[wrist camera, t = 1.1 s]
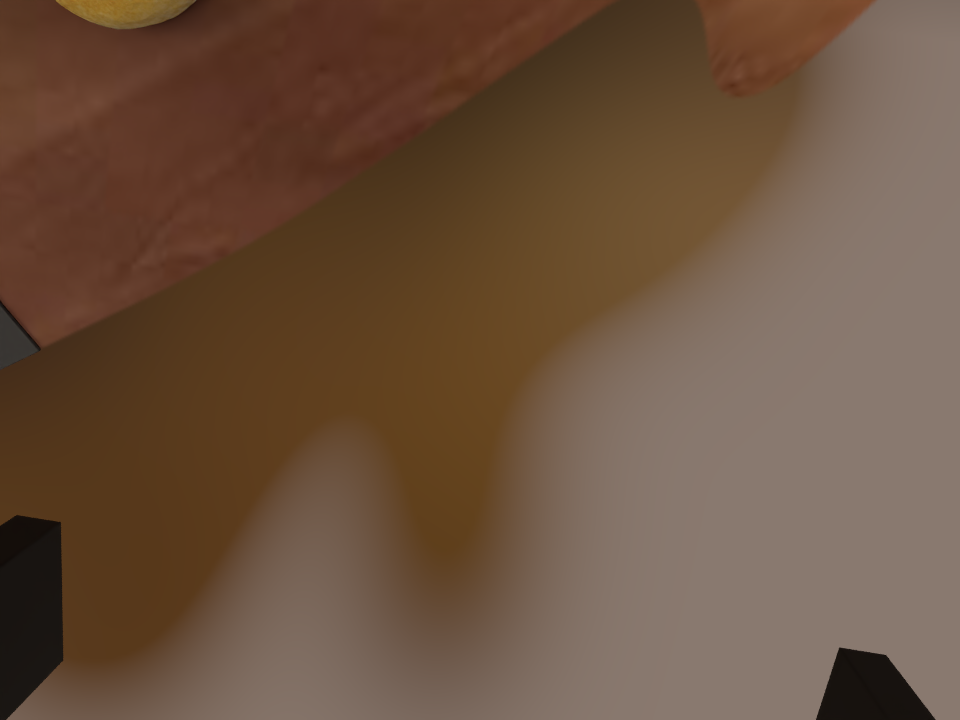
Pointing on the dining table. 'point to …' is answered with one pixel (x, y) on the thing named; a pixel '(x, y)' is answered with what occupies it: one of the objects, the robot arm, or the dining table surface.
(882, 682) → the robot arm
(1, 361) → the edge mat
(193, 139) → the dining table surface
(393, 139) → the dining table surface
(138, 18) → the bread roll
